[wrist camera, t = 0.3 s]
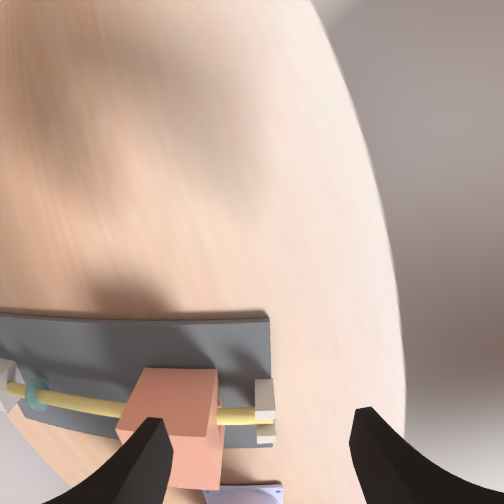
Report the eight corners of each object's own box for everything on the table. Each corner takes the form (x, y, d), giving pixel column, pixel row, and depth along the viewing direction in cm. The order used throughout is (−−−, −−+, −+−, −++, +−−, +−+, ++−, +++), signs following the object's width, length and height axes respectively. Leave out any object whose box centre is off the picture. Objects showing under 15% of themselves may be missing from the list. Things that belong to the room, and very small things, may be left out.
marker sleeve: (225, 426, 21) (219, 490, 15) (161, 423, 21) (142, 483, 15) (216, 368, 19) (205, 437, 14) (144, 367, 20) (114, 428, 14)
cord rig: (273, 441, 23) (276, 482, 18) (27, 413, 23) (8, 439, 19) (270, 317, 19) (275, 356, 15) (-17, 311, 20) (-47, 332, 16)
